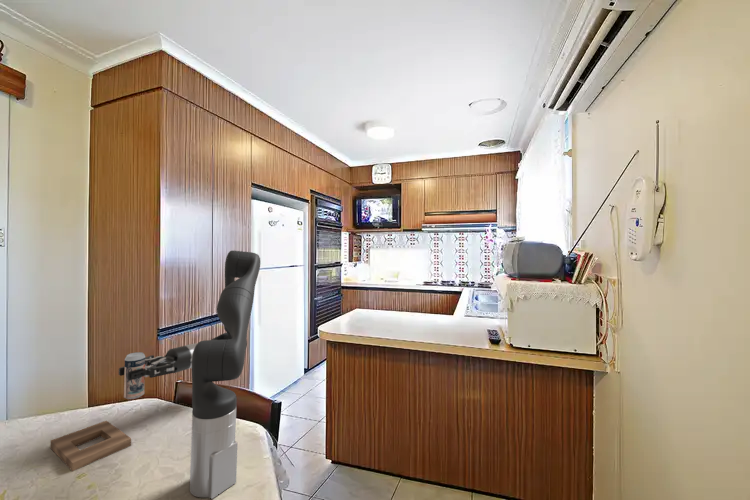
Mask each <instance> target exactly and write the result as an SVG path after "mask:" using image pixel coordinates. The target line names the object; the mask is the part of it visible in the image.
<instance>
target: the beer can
mask: <svg viewBox="0 0 750 500" xmlns="http://www.w3.org/2000/svg"><path fill="white" fill-rule="evenodd" d="M145 357H146V355H145V353H144V352H141V351H140V352H138V351H137V352H131V353H128V354H126V357H125V358H124V366H125V373H124V375H123V376H124V377H123V378H124V380H123V381H124V382H123V384H124V385H123V398H124V399H127V400H134V399H138V398H140V397H142V396H143V395H145V383H146V382H145V378H146V377H144V376H143V377H140V378H136V379H133V380H127V373H128V372H130V371H134V370H137V369H141V368H143V369H144V368H145Z"/></svg>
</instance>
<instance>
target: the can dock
mask: <svg viewBox="0 0 750 500" xmlns="http://www.w3.org/2000/svg"><path fill="white" fill-rule="evenodd" d="M99 438H102V439H104V440H102V441H99V442H97V443H94V444H92V445H89V446H87V447H84V448H82V449H80V448H78V447H79V446H81V445H84V444H86V443H90V442H92V441H94V440H97V439H99ZM131 446H132V437H130V436H128V435H127V434H126V433H124V432H123V431H122V430H120V429H119V428H117V427H116V426H115V425H114V424H112V423H111V422H109V421H108V420H104V421H101V422H99V423H96V424H92V425H89V426H87V427H85V428H82V429H79V430H75V431H73V432H71V433H68V434H65V435H64V434H63V436H62V435H61V436H60V437H56V438H52V439H50V447H49V448H50V449H51V450H52V452H53V453H55V455H57V457H58V458H59V459H60V460H61V461H62V462H63V463H64V464H65V465H66V466H67V468H69V469H70V470H71V471H72V472H74V471H77V470H79V469H80V468H81V469H82V468H84V467H85V466H88V465H90V464H92V463H93V464H94V462H97V461H99V460H102V459H104V458H106V457H108V456H110V455H113V454H115V453H117V452H120V451H123V450H124V449H126V448H128V447H131Z"/></svg>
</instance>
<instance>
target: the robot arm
mask: <svg viewBox="0 0 750 500" xmlns="http://www.w3.org/2000/svg"><path fill="white" fill-rule="evenodd" d="M260 269H261V257H260V255H259V254H258V253H256V252H251V251H243V250H230V251H228V253H227V255H226V258H225V262H224V288H223V290H222V291H221V293H220V295H219V299H218V302H217V304H216V315H217V317H218V319H219V321H220V322H221V324H223V329H224V331H225V332H223V333H221V334H219V335H217V336H216V337H213V338H211V339H208V340H206V339H205V340H201V341H199V342H196V343H191V344H186V345H182V346H177V347H174V348H170V349H168V350H167V352H166V354H165V355H164V356H163V355H159V356H155V355H153V354H152V355H148V356H145V368H144V369H143V368H141V369H137V370H134V371H130V372H128V373H127V380H133V379H136V378H140V377H143V376H144V377H145V378H148V377H149V378H151V379H152V378H155V377H161V376H167V375H169V374H170V375H171V374H177V373H180V372H184V371H187V370H189V369H191V386H192V387H191V388H192V389H191V391H192V393H191V407H192V408H191V409H192V412H191V413H192V415H191V436H190V438H191V439H190V440H191V443H190V470H189V475H190V476H189V491H190V493H191V495H192V496H194V497H196V498H208V499H210V498H211V500H212V499H215V498H216V497H217V496H219V495H220V494H222V493H223V492H224V491H226V490H228V489H229V488H230V487H232V486H233V485H235V484H236V483H237V475H238V474H237V468H238V467H237V466H238V442H237V441H236V427H237V405H238V404H237V403H238V401H237V400H238V399H237V395H236V393H235V392H234V391H233V390H231V389H228V388H226V387H223V386H219V385H217V384H216V383H214V382H224V381H225V382H226V381H232V380H237V379H238V378H239V377H240V376H241V374H242V372H243V369H244V365H245V360H246V359H245V358H246V350H247V346H248V330H249V324H250V318H251V314H252V311H253V305H254V297H255V289H256V284H257V280H258V276H259V273H260ZM235 278H237V279H235ZM124 373H125V365H124V366H121V367H119V368H118V375H119V376H121V377H122V376H124ZM218 494H219V495H218Z"/></svg>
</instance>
